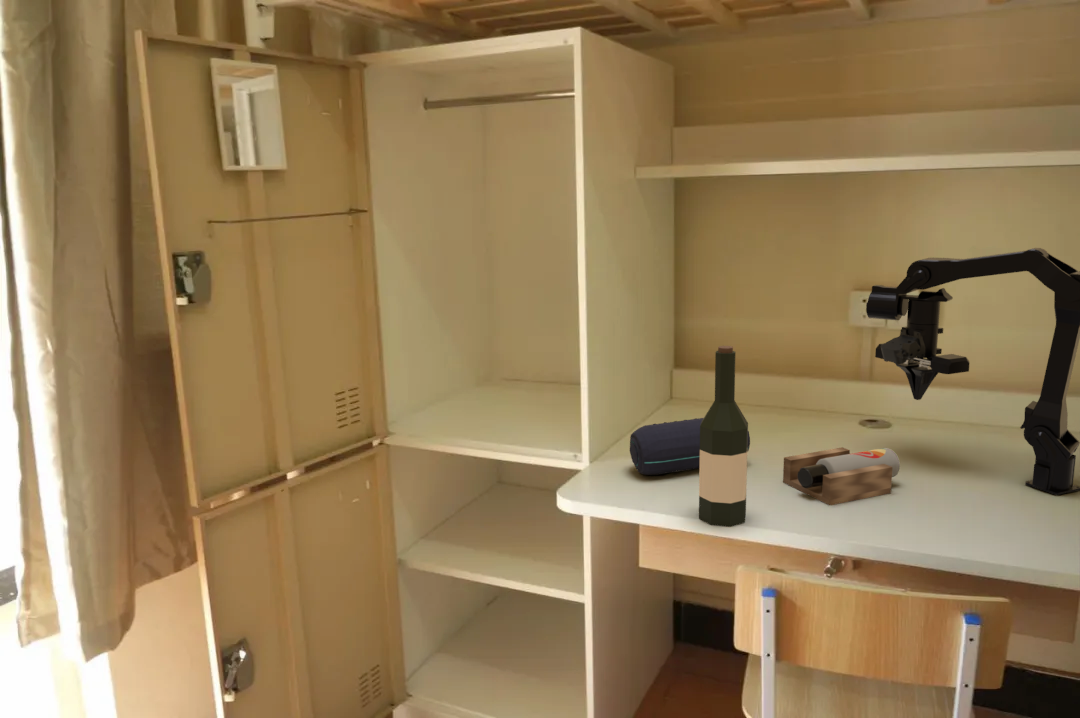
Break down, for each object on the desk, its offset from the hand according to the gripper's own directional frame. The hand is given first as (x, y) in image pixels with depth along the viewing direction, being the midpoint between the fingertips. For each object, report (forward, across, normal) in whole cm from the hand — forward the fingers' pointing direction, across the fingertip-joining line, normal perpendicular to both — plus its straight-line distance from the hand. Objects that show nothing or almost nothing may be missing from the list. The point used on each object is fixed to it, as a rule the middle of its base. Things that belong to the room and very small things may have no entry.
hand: (917, 399), depth 166 cm
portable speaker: (+14, -17, -43) cm, 48 cm away
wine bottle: (+13, +8, -51) cm, 53 cm away
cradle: (+13, +5, -24) cm, 28 cm away
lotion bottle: (+9, +7, -13) cm, 17 cm away
